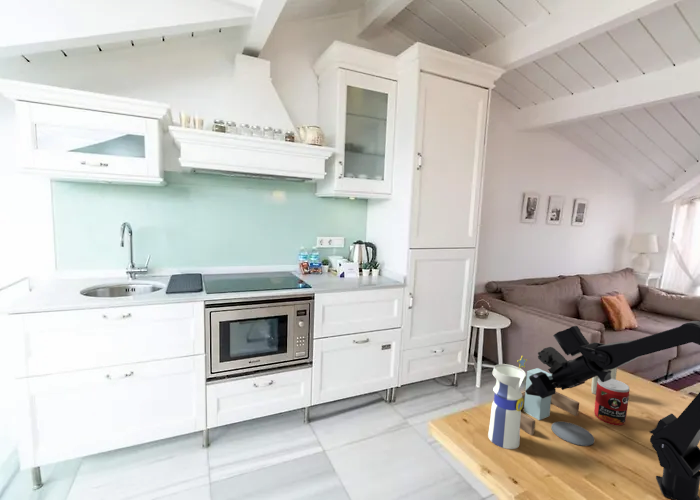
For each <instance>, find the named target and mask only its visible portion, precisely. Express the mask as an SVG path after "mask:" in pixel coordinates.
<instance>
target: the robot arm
mask: <svg viewBox="0 0 700 500" xmlns="http://www.w3.org/2000/svg"><path fill="white" fill-rule="evenodd" d="M553 337H554V339H555V340H556V342H557V344H558V345H559V347H560V348H561V349H562V351H563V352H564V354H565V355H566V356H571V357H576V356H577V357H576V358H573V359H570V360H567V359H566V358H565V356H563V354H561V352H559V351H558V350H557V349H555V347H552V346H548V347H545V348H544V347H543V349H541V351H539V352H537V355H538V356H537V359H538V360H539V361H540V362H541V363H542V364H543V365H546V366H548V367H549V368H548V369H547V370H548V373H550V374H552V378H553V379H551V380H550V379H549V378H548V376H547V374H546V373H543V372H539V373H536V374H533V375H531V376H529V379H530V381H531V382H532V384H531V385H530V386H529V387H528V389H527V390H526V389H525V391H526V393H527V394H528V395H534V396H540V397H541V398H546V397H548V396H551V395H553V394H555V392H557V390H556V389H561V390H562V391H564V390H567V389H572V388H576V387H578V386H582V385H583V384H585V383H586V382H587V381H588V380H590V379H591V380H592V378H593V377H596V376H598V377H599V379H600V380H601V382H605V381H608V380H610V379H611V371H610V370H611V369H614V368H617V369H618V368H619V367H622V366H625V365H627V364H629V363H631V362H633V361H635V360H637V359H639V358H641V357H643V356H646V355H650V354H653V353H657V352H661V351H665V350H668V349H672V348H676V347H679V346H684V345H688V344H691V343H693V344H696V345H698V346H700V320H692V321H689V322H685V323H682V324H681V325H679V326H676V327H674V328H671V329H667V330H666V329H665V330H664V331H661V332H656V333H654V334H651V335H648V336H643V337H640V338H637V339H633V340H624V341H623V340H622V341H615V342H610V343H600V342H595V341H593V342H589V341H588V340H587V338H586V337H585V335H584V334H583V332H582V331H581V329H580V328H579V326H578V325H573V326H571V327H569V328H566V329H563V330H560V331H558V332H556V333H554V334H553ZM580 354H581V355H580ZM578 355H580V356H578ZM649 434H651V436H650V439H649V442H650V443H651V447H652V448H653V450H654V451H655V452H656V455H657V459H658V463H659V465H660V467H661V468H663V470H662V476H660V475H656V476H655V479H656V481H657V484H658V487H659V489H660V491H661V494H662V496H664V497H665V498H669V499H671V500H700V496H699V491H700V448H699V446H698V445H699V443H700V392H698V393H697V394H696V396H695V397H694V398H693V399H692V401H691V402H689V404H688V405H687V406H686V408H684V410H683V411H682V412H681V413H680V415H679V416H678V417H676V415H674V414H673V413H670V414H668V415H666V416H664V417H662V418H660V419H659V420H658V422H657V424H656V426H655V427H654V428H653V429H651V430H650V431H649Z"/></svg>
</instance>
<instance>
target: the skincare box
mask: <svg viewBox="0 0 700 500" xmlns="http://www.w3.org/2000/svg"><path fill="white" fill-rule="evenodd" d="M617 369H618V367H617V368H614V369H611V370H610V371H611V379H615V380H617V373H618V372H617V371H618V370H617ZM598 379H599V377H598V376H596V377H593V378H591V394H593V395H596V389H597V381H598Z"/></svg>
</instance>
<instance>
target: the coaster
mask: <svg viewBox="0 0 700 500" xmlns="http://www.w3.org/2000/svg"><path fill="white" fill-rule="evenodd" d="M550 427H551V431H552V432H553V433H554V435H555V436H557V437H558V438H559V439H561V440H563V441H565V442H567V443H569V444H572V445H576V446H582V447H589V446H591V445H594V444H595V437H594V435H593V434H592V433H591V432H590V431H589V430H587V429H586V428H585V427H582V426H581V425H577V424H575V423H572V422H568V421H562V420H561V421H555V422H553V423H551V426H550Z"/></svg>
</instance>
